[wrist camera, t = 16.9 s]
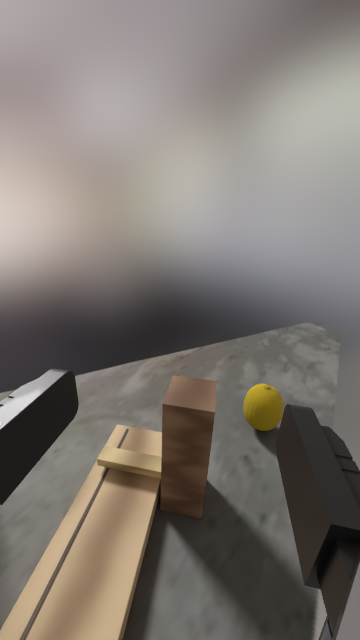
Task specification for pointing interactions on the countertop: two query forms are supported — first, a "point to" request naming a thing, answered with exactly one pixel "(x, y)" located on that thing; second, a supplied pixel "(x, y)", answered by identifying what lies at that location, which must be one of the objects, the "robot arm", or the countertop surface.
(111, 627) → the board
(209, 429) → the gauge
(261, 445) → the countertop surface
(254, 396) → the lemon
